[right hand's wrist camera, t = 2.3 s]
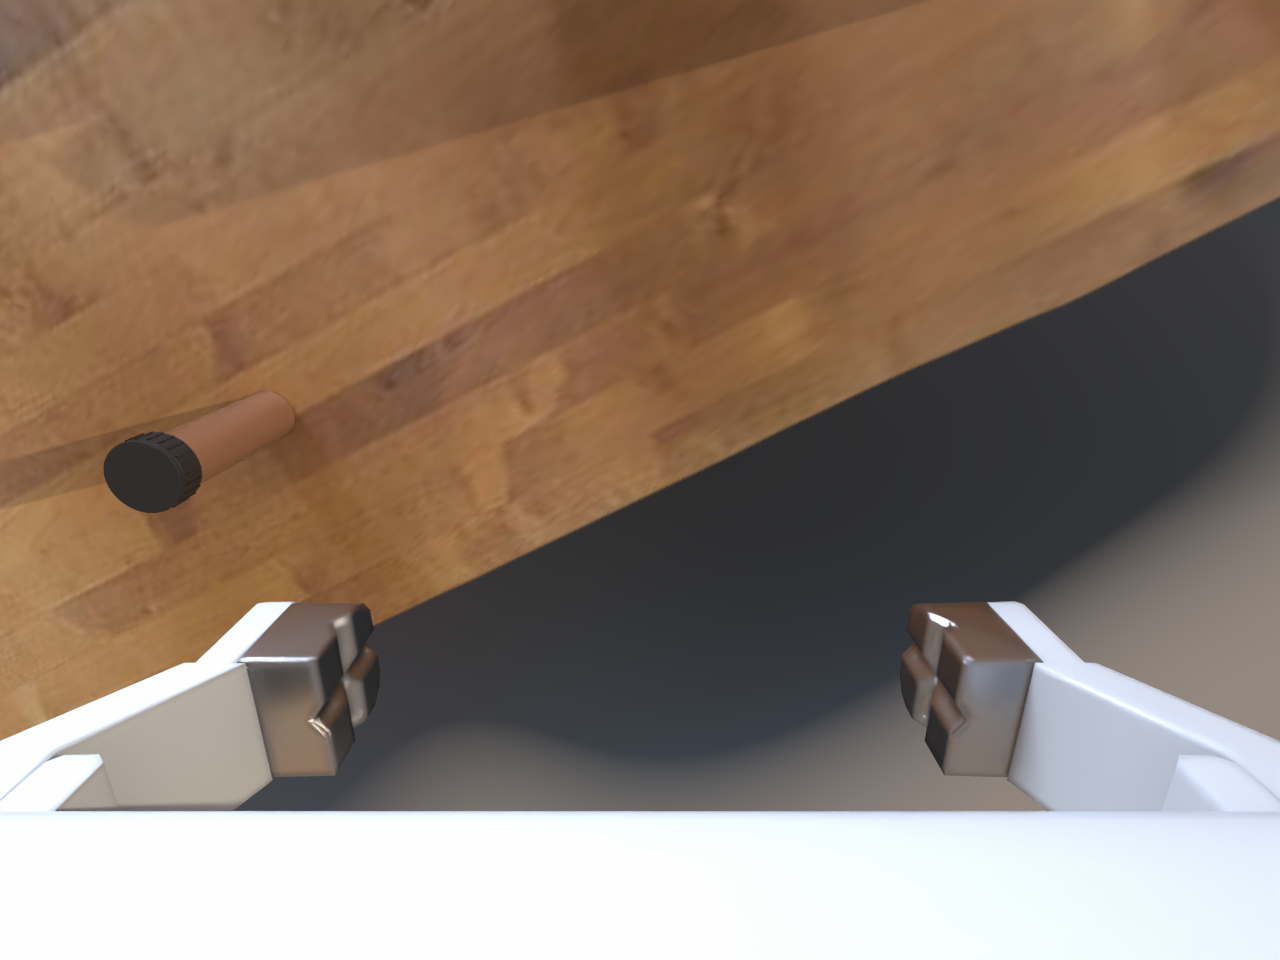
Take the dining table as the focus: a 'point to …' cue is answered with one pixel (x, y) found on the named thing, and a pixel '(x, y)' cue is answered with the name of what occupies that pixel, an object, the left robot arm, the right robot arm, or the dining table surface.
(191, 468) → the lid
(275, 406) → the brown tall cylinder
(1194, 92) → the dining table surface
